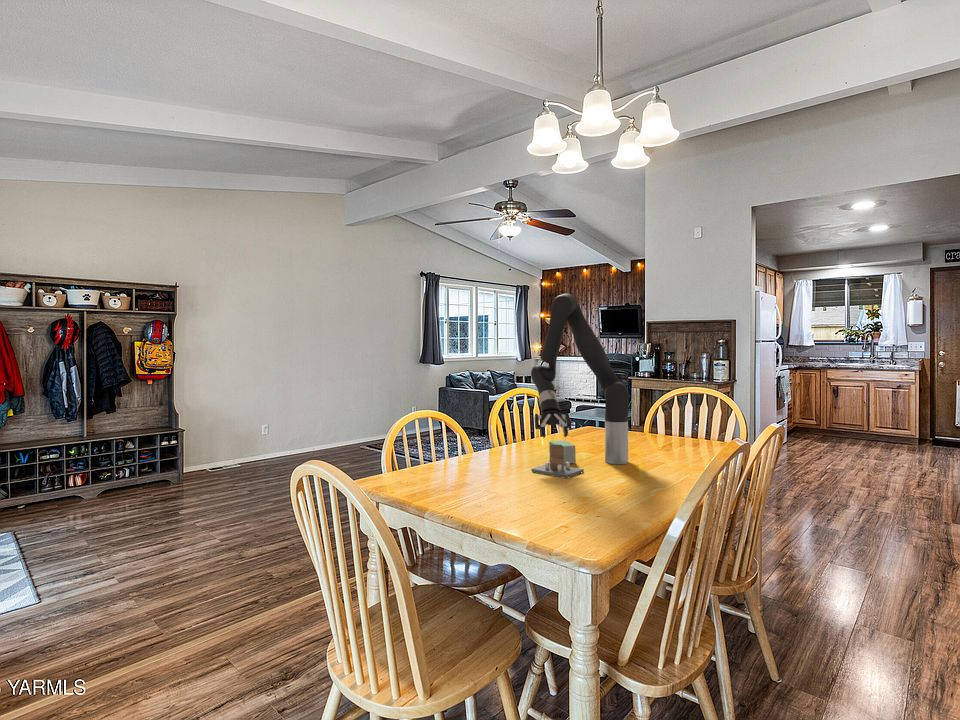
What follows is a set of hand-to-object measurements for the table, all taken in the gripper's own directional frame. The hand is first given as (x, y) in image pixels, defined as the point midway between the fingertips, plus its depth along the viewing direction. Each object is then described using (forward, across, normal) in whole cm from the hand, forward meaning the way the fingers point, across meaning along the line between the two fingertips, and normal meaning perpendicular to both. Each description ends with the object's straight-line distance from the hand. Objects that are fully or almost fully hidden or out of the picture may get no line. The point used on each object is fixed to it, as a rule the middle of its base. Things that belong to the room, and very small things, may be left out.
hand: (555, 436), depth 213 cm
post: (+12, 0, +5) cm, 13 cm away
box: (-1, +6, +20) cm, 21 cm away
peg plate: (+12, 0, +6) cm, 14 cm away
